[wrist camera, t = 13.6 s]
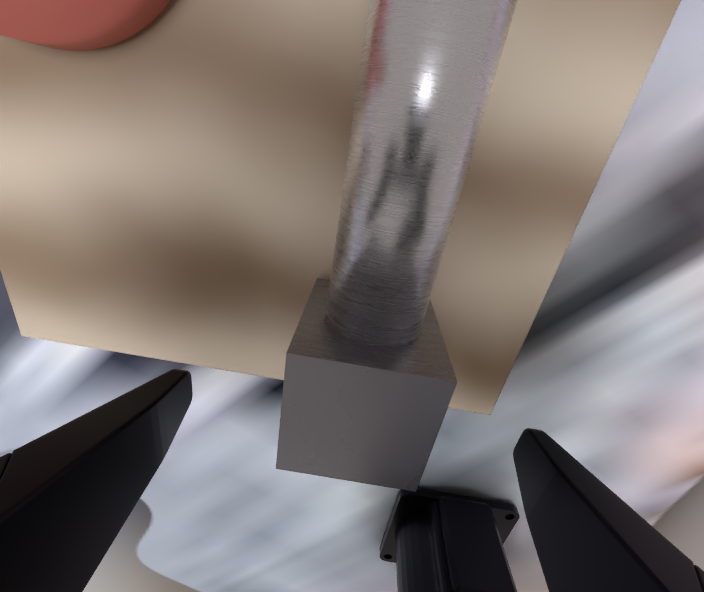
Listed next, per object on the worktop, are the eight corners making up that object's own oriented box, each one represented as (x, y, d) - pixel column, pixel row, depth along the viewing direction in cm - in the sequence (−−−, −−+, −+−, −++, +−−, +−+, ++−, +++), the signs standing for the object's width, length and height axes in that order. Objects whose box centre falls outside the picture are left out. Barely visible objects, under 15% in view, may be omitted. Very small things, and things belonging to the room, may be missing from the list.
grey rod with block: (403, 385, 14) (415, 491, 10) (305, 368, 14) (276, 468, 9) (565, -170, 7) (824, -584, 3) (377, -206, 7) (378, -678, 3)
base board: (482, 395, 15) (490, 415, 14) (47, 321, 15) (21, 335, 14) (810, -366, 7) (894, -464, 6) (-201, -570, 6) (-316, -709, 5)
